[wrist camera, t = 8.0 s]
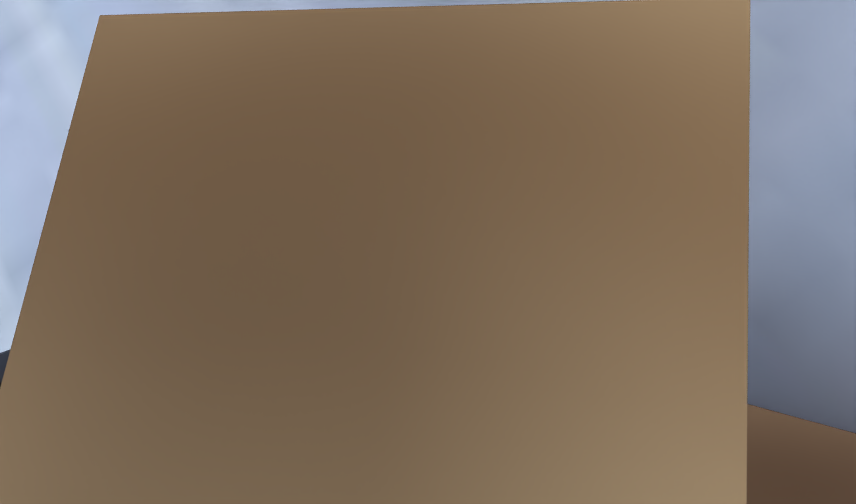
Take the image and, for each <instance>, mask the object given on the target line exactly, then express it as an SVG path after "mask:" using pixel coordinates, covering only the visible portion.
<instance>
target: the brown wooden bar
mask: <svg viewBox="0 0 856 504" xmlns="http://www.w3.org/2000/svg"><path fill="white" fill-rule="evenodd" d="M746 504H856V433H852V432H849V431H845V430H841V429H838V428H834V427H830V426H827V425H823V424H819V423H816V422H812V421H808V420H805V419H801V418H797V417H794V416H790V415H786V414H782V413H779V412H775V411H771V410H768V409H764V408H760V407H757V406H753V405H749V404H747V503H746Z"/></svg>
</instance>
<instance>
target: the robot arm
mask: <svg viewBox="0 0 856 504" xmlns="http://www.w3.org/2000/svg"><path fill="white" fill-rule="evenodd" d="M10 350H11V349H10ZM10 350H7V351H5V352H2V353H0V387H1V383H2V380H3V376H4V372H5V368H6V365H7V361H8V357H9V353H10Z"/></svg>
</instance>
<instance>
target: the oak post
mask: <svg viewBox="0 0 856 504" xmlns="http://www.w3.org/2000/svg"><path fill="white" fill-rule="evenodd" d="M749 96H750V0H633V1H597V2H561V3H525V4H489V5H453V6H417V7H381V8H345V9H309V10H273V11H237V12H201V13H165V14H129V15H100V17H99V20H98V24H97V28H96V32H95V35H94V39H93V43H92V47H91V50H90V54H89V58H88V62H87V65H86V69H85V73H84V77H83V80H82V84H81V88H80V92H79V95H78V99H77V103H76V106H75V110H74V114H73V118H72V121H71V125H70V129H69V133H68V136H67V140H66V144H65V148H64V151H63V155H62V159H61V163H60V166H59V170H58V174H57V178H56V181H55V185H54V189H53V192H52V196H51V200H50V204H49V207H48V211H47V215H46V219H45V222H44V226H43V230H42V234H41V237H40V241H39V245H38V249H37V252H36V256H35V260H34V264H33V267H32V271H31V275H30V279H29V282H28V286H27V290H26V293H25V297H24V301H23V305H22V308H21V312H20V316H19V320H18V323H17V327H16V331H15V335H14V338H13V342H12V346H11V350H10V353H9V357H8V361H7V365H6V368H5V372H4V376H3V380H2V383H1V387H0V504H746V503H747V368H748V232H749Z"/></svg>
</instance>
